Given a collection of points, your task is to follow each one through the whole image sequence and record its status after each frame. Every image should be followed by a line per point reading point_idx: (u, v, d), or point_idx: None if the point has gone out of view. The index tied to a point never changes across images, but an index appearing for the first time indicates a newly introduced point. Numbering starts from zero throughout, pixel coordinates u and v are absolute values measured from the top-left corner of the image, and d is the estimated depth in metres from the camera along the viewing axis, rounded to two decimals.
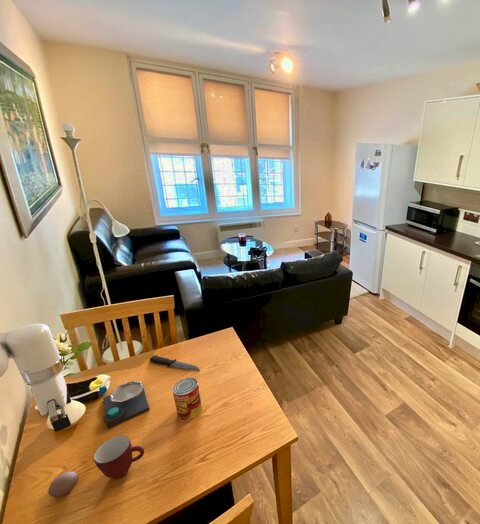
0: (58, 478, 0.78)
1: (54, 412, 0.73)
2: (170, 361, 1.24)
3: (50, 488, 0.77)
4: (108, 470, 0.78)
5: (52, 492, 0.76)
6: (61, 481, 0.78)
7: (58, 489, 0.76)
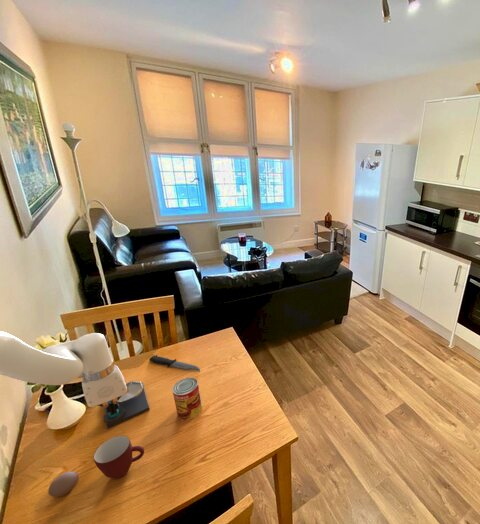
0: (58, 478, 0.78)
1: (127, 387, 0.99)
2: (170, 361, 1.24)
3: (50, 488, 0.77)
4: (108, 470, 0.78)
5: (52, 492, 0.76)
6: (61, 481, 0.78)
7: (58, 489, 0.76)
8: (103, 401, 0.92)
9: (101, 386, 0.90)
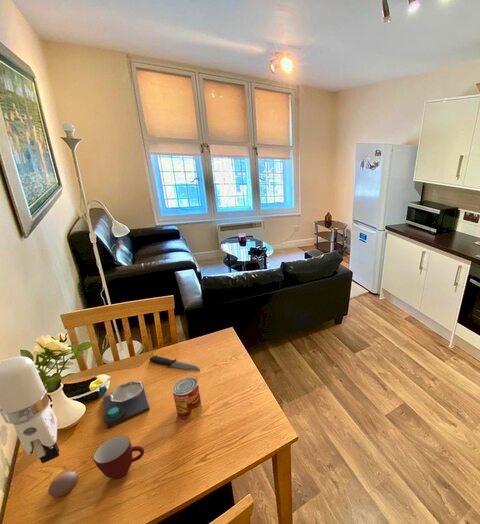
0: (58, 478, 0.78)
1: None
2: (170, 361, 1.24)
3: (50, 488, 0.77)
4: (108, 470, 0.78)
5: (52, 492, 0.76)
6: (61, 481, 0.78)
7: (58, 489, 0.76)
8: (56, 432, 0.73)
9: (48, 413, 0.71)
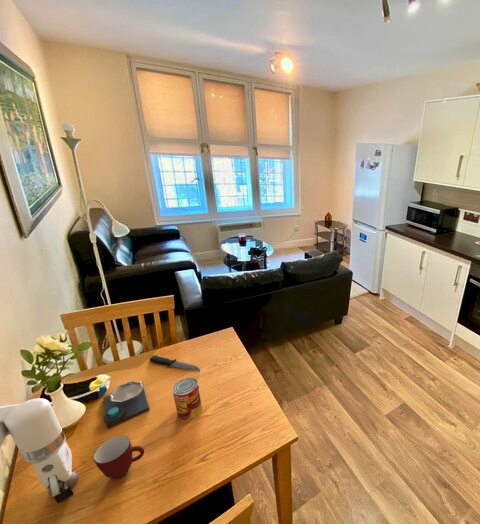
0: None
1: None
2: (170, 361, 1.24)
3: (50, 488, 0.77)
4: (108, 470, 0.78)
5: None
6: None
7: None
8: (71, 466, 0.77)
9: (64, 449, 0.76)
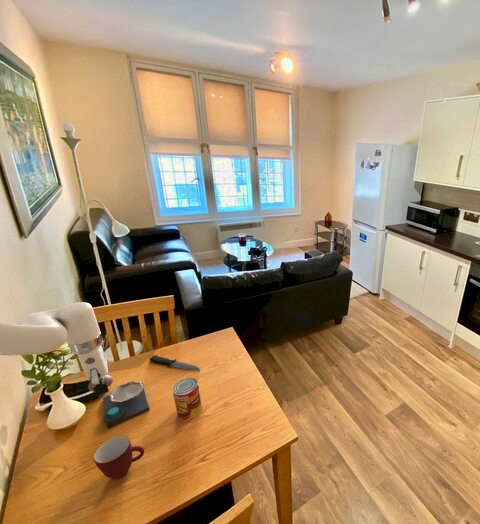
0: None
1: None
2: (170, 361, 1.24)
3: (90, 384, 0.90)
4: (108, 470, 0.78)
5: (92, 387, 0.90)
6: (99, 379, 0.91)
7: None
8: None
9: (102, 350, 0.89)
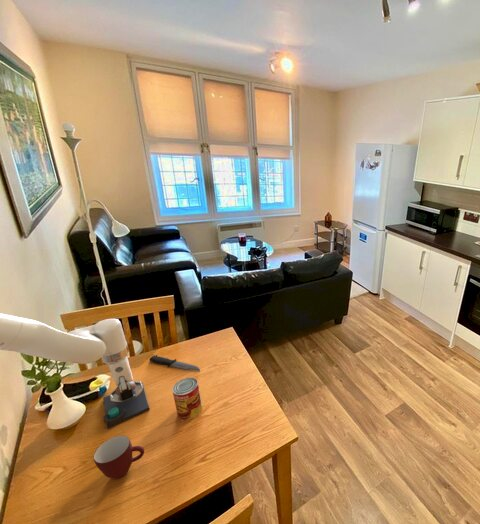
0: None
1: None
2: (170, 361, 1.24)
3: (117, 390, 1.03)
4: (108, 470, 0.78)
5: (118, 392, 1.02)
6: None
7: None
8: None
9: (127, 360, 1.02)
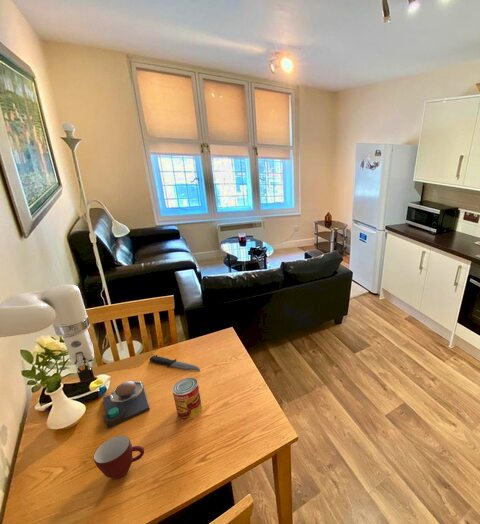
0: (121, 384, 1.05)
1: None
2: (170, 361, 1.24)
3: (117, 390, 1.03)
4: (108, 470, 0.78)
5: (118, 392, 1.02)
6: (124, 385, 1.04)
7: (123, 390, 1.03)
8: (93, 351, 0.90)
9: (88, 335, 0.88)
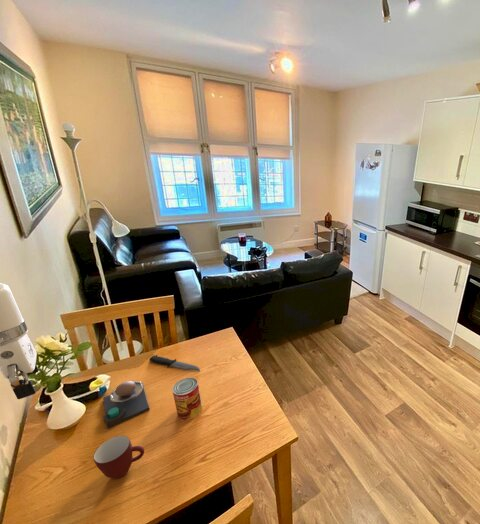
0: (121, 384, 1.05)
1: None
2: (170, 361, 1.24)
3: (117, 390, 1.03)
4: (108, 470, 0.78)
5: (118, 392, 1.02)
6: (124, 385, 1.04)
7: (123, 390, 1.03)
8: (34, 362, 0.75)
9: (26, 342, 0.74)
